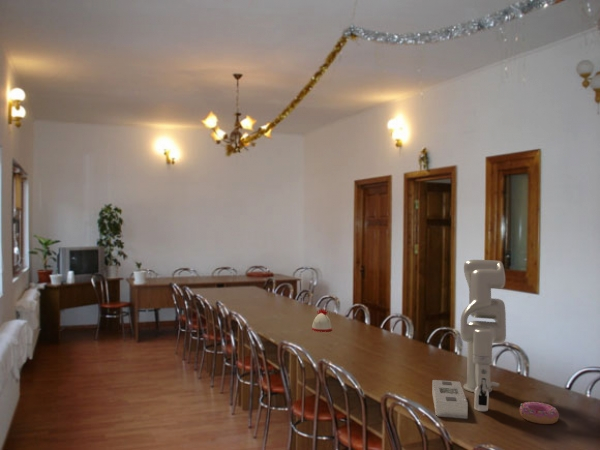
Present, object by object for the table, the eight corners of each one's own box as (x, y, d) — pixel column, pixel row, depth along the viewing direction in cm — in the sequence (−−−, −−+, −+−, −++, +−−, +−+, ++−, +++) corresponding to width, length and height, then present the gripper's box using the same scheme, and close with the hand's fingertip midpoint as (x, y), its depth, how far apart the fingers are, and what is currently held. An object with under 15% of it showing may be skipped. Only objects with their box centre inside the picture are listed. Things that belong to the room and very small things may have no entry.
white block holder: (459, 395, 243) (460, 381, 243) (467, 418, 214) (467, 403, 214) (432, 393, 246) (432, 379, 246) (436, 416, 216) (436, 400, 216)
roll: (478, 377, 229) (491, 380, 226) (477, 405, 229) (490, 409, 226) (472, 380, 225) (485, 383, 221) (471, 409, 225) (484, 412, 221)
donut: (547, 412, 223) (547, 400, 223) (565, 425, 209) (566, 412, 209) (513, 412, 222) (513, 400, 222) (529, 425, 208) (529, 412, 208)
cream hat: (325, 332, 377) (325, 311, 377) (308, 330, 384) (308, 309, 384) (335, 329, 389) (335, 308, 389) (318, 327, 396) (318, 306, 396)
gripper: (495, 364, 216) (494, 410, 216) (488, 354, 233) (487, 396, 233) (475, 363, 218) (474, 408, 218) (470, 353, 234) (469, 395, 235)
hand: (481, 402), depth 225 cm, fingers closed on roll, 5 cm apart
